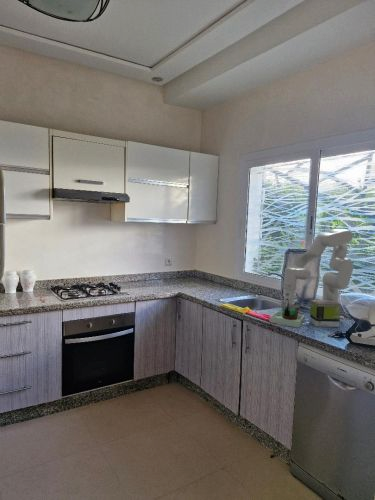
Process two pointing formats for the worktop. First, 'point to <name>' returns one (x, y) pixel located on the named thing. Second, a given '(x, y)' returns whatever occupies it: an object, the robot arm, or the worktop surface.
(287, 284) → the robot arm
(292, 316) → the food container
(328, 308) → the tea box
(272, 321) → the sorting tray
